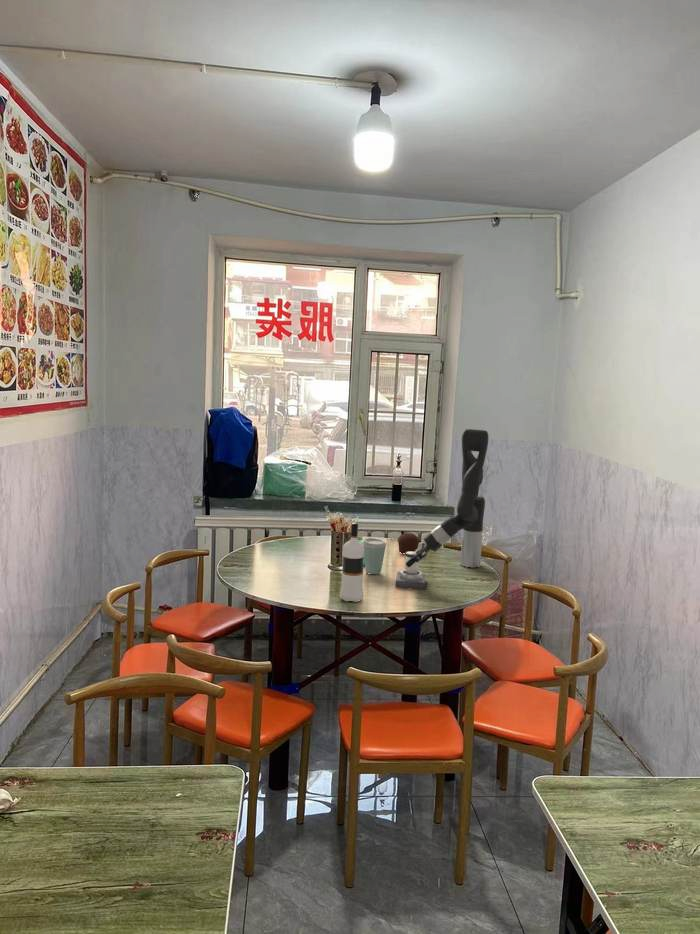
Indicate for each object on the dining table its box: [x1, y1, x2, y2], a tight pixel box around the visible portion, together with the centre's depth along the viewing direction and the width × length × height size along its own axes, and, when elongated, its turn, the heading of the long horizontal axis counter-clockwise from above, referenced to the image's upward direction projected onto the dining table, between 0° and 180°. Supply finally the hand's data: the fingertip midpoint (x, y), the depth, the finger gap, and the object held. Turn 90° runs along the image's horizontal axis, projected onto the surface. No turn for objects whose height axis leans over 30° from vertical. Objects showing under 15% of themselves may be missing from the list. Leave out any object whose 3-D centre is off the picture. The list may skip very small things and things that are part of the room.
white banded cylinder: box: [404, 551, 419, 575], centre depth 287 cm, size 6×6×9 cm
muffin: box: [396, 532, 421, 554], centre depth 341 cm, size 12×11×10 cm
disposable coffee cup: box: [362, 537, 387, 575], centre depth 301 cm, size 11×11×15 cm
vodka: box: [339, 522, 365, 601], centre depth 262 cm, size 9×9×30 cm
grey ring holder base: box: [394, 569, 426, 591], centre depth 288 cm, size 14×12×5 cm
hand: (407, 563), depth 287 cm, fingers closed on white banded cylinder, 5 cm apart
